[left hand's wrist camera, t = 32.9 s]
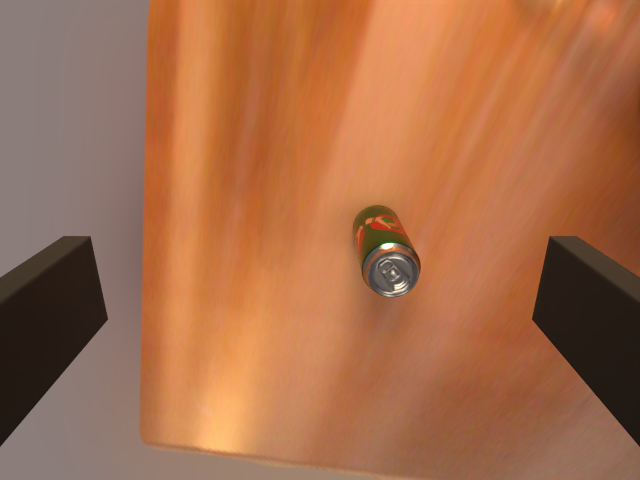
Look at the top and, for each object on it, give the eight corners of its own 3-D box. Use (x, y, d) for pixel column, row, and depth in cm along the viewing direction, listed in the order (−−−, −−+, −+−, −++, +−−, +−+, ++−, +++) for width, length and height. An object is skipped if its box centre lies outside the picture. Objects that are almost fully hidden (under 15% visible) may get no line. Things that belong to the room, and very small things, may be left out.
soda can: (371, 255, 48) (387, 311, 37) (343, 223, 47) (350, 271, 36) (408, 228, 47) (435, 278, 36) (380, 194, 46) (399, 235, 35)
